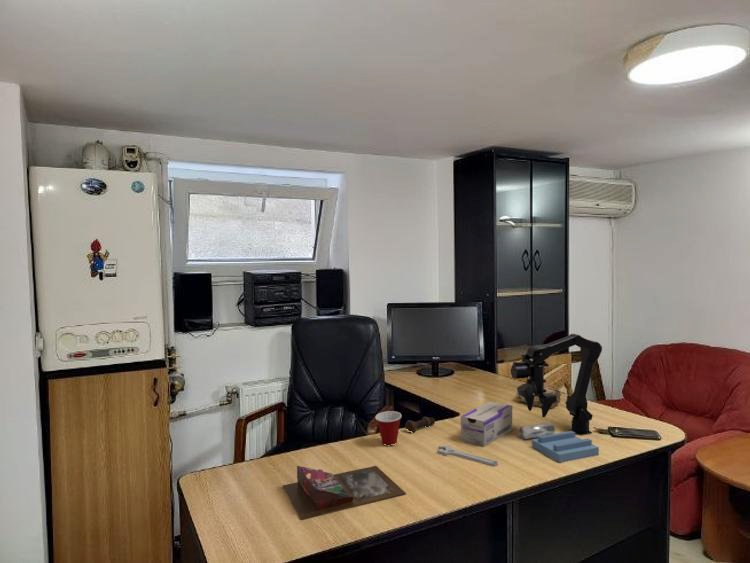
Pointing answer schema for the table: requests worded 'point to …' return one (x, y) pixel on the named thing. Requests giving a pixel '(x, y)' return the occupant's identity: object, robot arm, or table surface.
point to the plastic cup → (388, 426)
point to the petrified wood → (548, 390)
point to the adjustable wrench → (465, 455)
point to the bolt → (419, 423)
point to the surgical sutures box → (486, 423)
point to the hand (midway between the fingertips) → (536, 413)
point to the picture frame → (338, 490)
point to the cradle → (565, 446)
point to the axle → (536, 430)
